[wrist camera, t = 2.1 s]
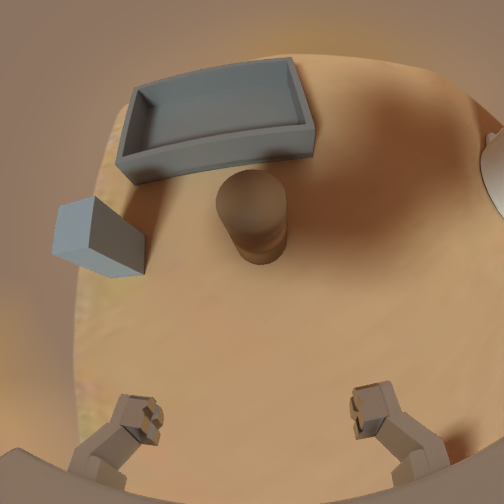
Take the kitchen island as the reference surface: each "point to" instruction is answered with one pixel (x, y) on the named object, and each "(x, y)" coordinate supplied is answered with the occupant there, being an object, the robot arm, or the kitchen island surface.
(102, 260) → the slate block
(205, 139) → the tote
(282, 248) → the wooden cylinder
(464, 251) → the kitchen island surface
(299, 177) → the kitchen island surface
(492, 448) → the robot arm
